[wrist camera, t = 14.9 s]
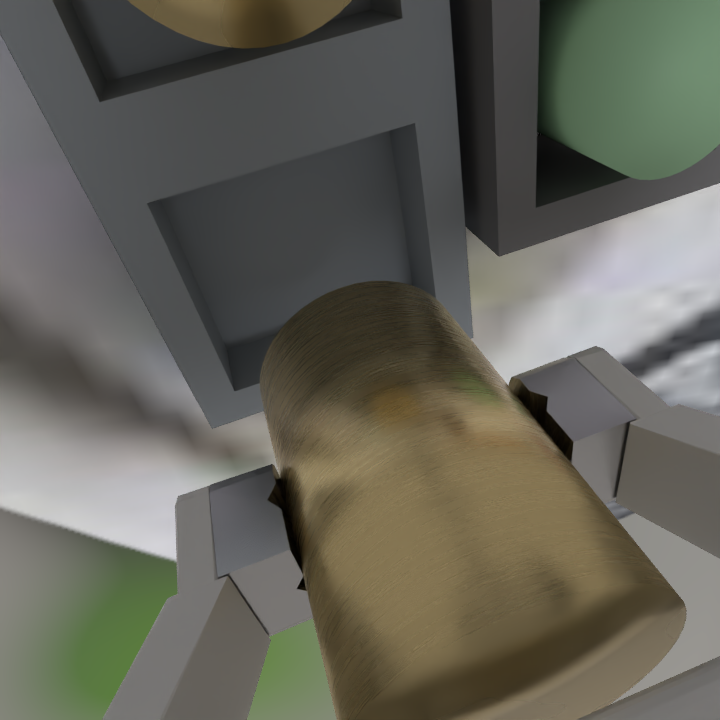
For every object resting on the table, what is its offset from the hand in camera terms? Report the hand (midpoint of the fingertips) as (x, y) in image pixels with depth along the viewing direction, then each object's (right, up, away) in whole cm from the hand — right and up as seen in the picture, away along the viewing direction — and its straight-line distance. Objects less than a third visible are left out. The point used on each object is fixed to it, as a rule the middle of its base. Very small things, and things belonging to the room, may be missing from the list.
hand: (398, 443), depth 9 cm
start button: (+5, +9, +5) cm, 12 cm away
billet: (-1, +1, +2) cm, 2 cm away
